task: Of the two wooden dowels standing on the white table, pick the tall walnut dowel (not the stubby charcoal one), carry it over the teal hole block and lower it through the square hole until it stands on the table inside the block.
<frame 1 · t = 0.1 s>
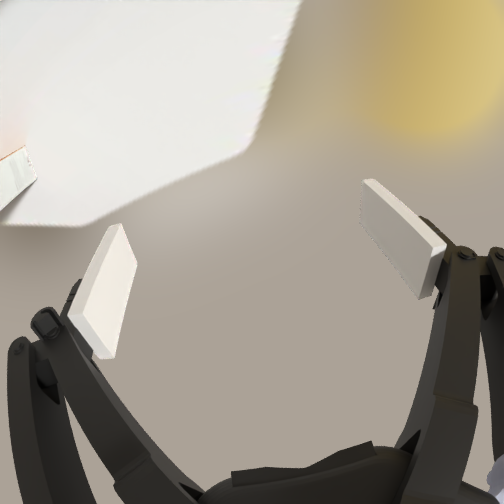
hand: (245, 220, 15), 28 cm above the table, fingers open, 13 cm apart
small box: (16, 169, 36), on the table
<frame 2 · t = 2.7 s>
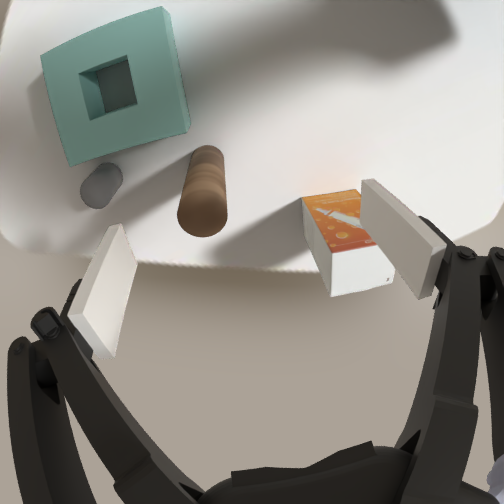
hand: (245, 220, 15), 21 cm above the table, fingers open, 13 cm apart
small box: (328, 211, 41), on the table
charcoal dowel: (108, 177, 34), on the table
hole block: (121, 84, 27), on the table
walnut dowel: (207, 160, 34), on the table
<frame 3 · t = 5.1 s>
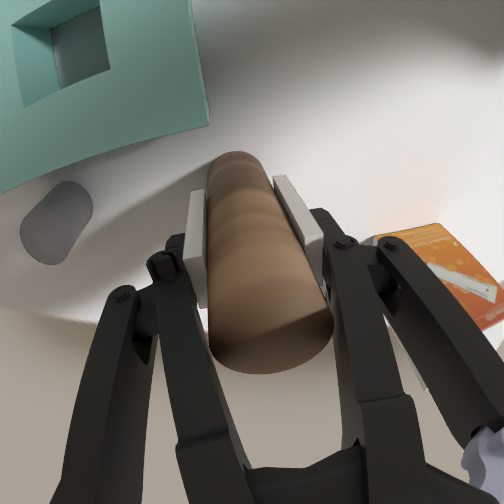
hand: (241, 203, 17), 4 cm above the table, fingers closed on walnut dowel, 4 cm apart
small box: (402, 252, 27), on the table
charcoal dowel: (70, 205, 20), on the table
hole block: (89, 46, 13), on the table
walnut dowel: (236, 178, 20), on the table, touching gripper
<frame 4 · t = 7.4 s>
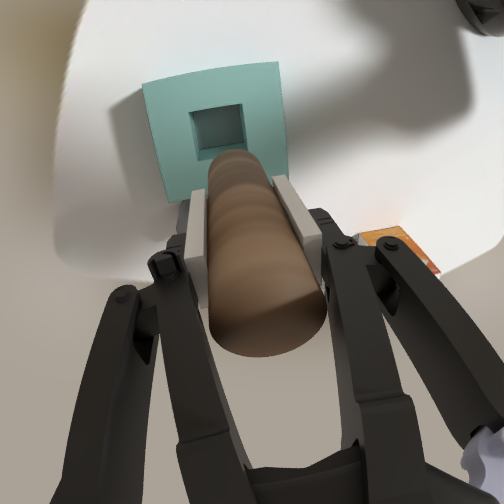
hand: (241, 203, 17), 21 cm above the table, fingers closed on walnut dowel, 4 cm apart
small box: (377, 243, 47), on the table
charcoal dowel: (194, 210, 39), on the table
hole block: (218, 124, 33), on the table
walnut dowel: (235, 175, 21), point 16 cm above the table, touching gripper
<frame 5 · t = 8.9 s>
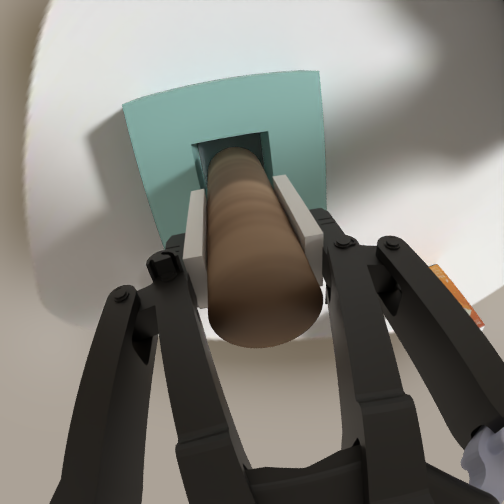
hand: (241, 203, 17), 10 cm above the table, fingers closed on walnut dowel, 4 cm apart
small box: (411, 283, 39), on the table
hole block: (231, 154, 26), on the table
walnut dowel: (234, 172, 21), point 5 cm above the table, touching gripper
when the fingers open (6 cm above the table, at t = 9.9 s): walnut dowel drops 1 cm, resting in hole block.
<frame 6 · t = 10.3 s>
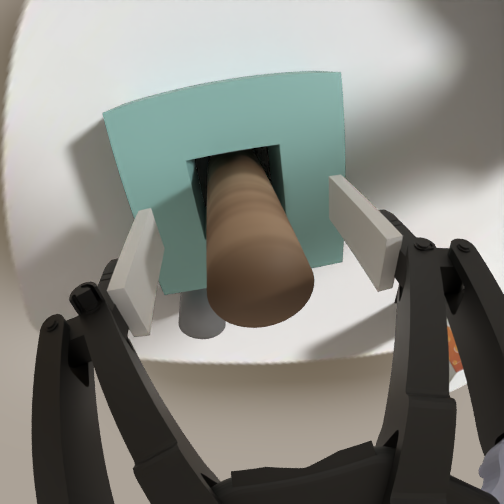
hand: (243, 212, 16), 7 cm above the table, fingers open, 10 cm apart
small box: (424, 302, 36), on the table
charcoal dowel: (201, 286, 29), on the table
hole block: (233, 168, 22), on the table
walnut dowel: (233, 168, 22), resting in hole block
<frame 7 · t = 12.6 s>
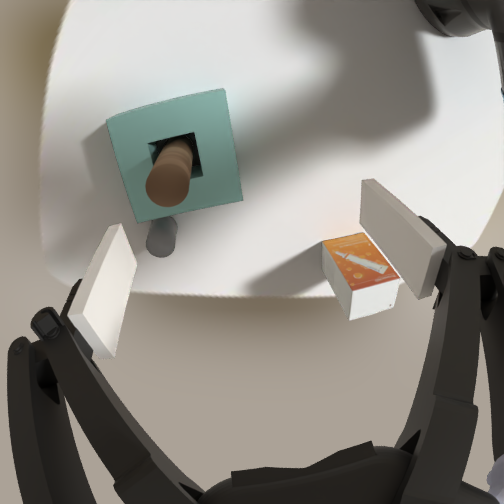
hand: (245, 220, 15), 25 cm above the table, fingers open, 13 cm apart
small box: (342, 250, 51), on the table
charcoal dowel: (163, 227, 43), on the table
hole block: (178, 149, 37), on the table
walnut dowel: (178, 149, 37), resting in hole block
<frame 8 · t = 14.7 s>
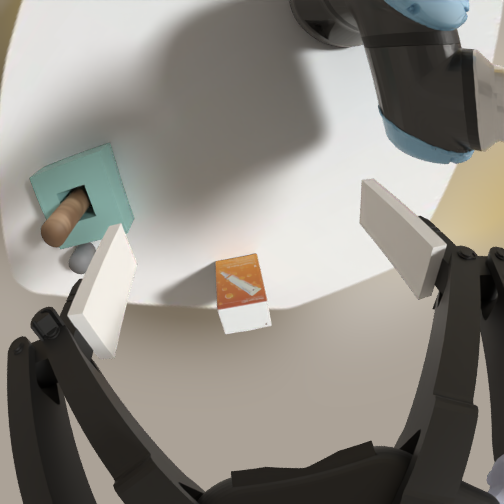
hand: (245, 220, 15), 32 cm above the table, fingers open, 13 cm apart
small box: (238, 268, 58), on the table
charcoal dowel: (86, 249, 50), on the table
hole block: (86, 192, 44), on the table
walnut dowel: (86, 191, 44), resting in hole block
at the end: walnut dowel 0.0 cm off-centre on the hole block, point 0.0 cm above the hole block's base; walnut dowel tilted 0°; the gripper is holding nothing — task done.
